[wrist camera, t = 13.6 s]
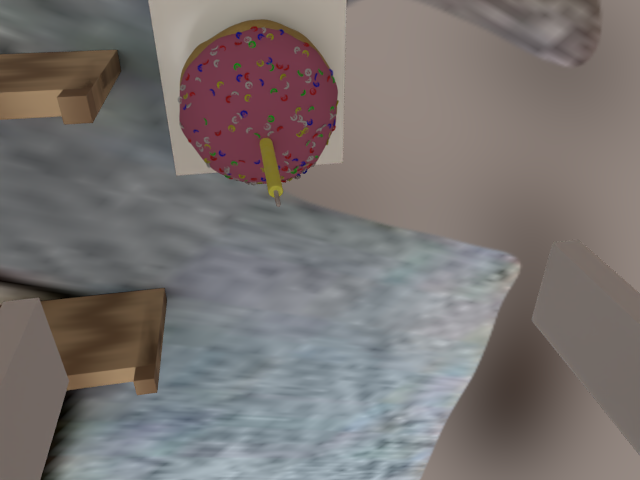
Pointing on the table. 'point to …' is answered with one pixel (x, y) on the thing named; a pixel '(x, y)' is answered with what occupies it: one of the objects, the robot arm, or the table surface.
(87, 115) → the brown open-sided frame
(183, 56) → the plate
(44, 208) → the table surface
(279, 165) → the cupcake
